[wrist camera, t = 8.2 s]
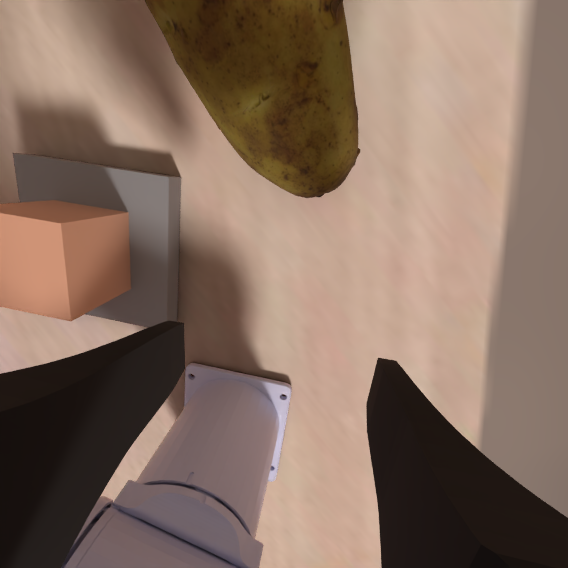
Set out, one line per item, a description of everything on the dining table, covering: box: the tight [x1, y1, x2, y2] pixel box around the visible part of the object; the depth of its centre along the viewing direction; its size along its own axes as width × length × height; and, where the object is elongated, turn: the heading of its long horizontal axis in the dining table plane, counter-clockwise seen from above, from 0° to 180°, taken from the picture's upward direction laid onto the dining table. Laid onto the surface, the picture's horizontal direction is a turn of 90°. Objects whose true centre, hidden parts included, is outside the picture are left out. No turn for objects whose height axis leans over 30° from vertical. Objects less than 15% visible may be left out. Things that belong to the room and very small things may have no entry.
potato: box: [145, 0, 360, 198], centre depth 13 cm, size 8×13×8 cm, turn 7°
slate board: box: [13, 153, 181, 327], centre depth 21 cm, size 10×10×2 cm
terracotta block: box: [0, 200, 131, 321], centre depth 18 cm, size 5×5×5 cm
